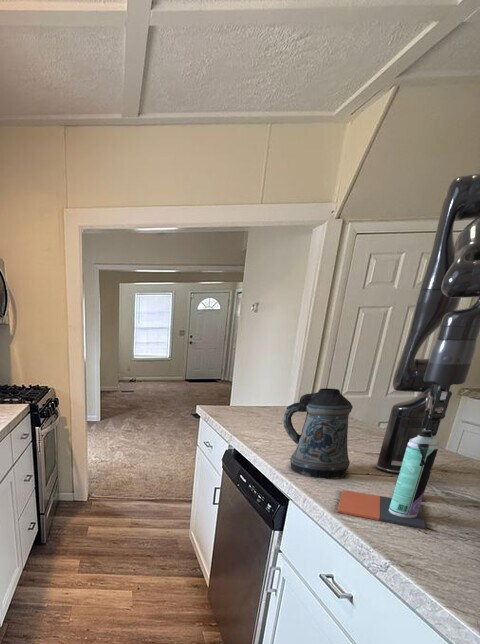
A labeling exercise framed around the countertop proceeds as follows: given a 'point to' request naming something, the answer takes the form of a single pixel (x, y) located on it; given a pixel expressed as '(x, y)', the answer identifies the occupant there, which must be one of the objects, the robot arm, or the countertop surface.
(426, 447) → the spray can
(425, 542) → the countertop surface
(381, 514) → the sorting mat
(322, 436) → the beer stein
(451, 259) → the robot arm
